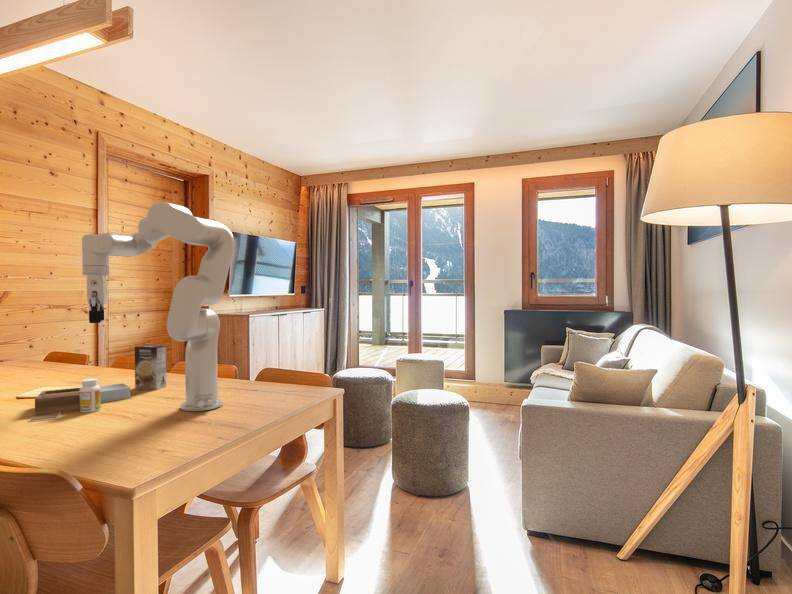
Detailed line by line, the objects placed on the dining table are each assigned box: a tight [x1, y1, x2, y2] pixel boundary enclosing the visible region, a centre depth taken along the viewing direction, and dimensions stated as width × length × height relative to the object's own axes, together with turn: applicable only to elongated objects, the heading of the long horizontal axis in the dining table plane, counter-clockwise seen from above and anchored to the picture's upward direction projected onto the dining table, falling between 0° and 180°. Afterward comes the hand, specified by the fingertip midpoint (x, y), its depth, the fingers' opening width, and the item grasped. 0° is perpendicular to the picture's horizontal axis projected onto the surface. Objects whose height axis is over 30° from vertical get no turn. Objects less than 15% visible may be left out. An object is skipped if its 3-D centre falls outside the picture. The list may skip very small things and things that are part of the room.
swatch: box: [27, 412, 62, 423], centre depth 134 cm, size 7×7×1 cm
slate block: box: [99, 382, 131, 403], centre depth 156 cm, size 9×9×4 cm
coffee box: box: [134, 344, 167, 391], centre depth 172 cm, size 9×6×16 cm
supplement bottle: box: [79, 377, 102, 414], centre depth 141 cm, size 5×5×10 cm
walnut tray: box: [34, 387, 81, 414], centre depth 144 cm, size 12×12×5 cm
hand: (96, 321), depth 153 cm, fingers open, 9 cm apart
